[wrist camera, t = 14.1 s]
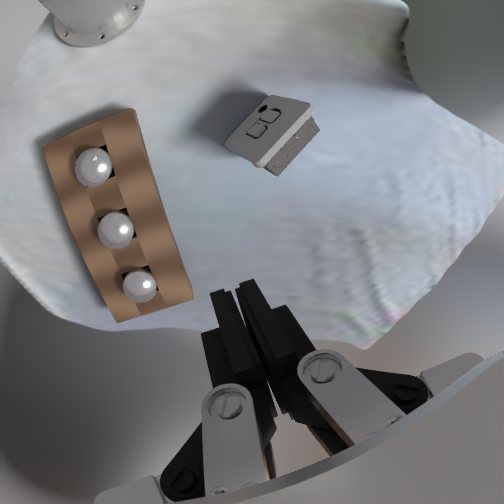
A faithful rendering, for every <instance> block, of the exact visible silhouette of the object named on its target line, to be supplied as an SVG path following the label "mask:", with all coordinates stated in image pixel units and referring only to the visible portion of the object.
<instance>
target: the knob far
mask: <svg viewBox="0 0 504 504" xmlns="http://www.w3.org/2000/svg"><path fill="white" fill-rule="evenodd" d="M123 291H124V293H125V295H126V296H127V297H128V298H129V299H130V300H132V301H134V302H139V303H142V302H147V301H149V300H150V299H152V298H153V297H154V295H155V293H156V279H155V277H154V275H153V274H152V272H151V270H150V268H149V265H147V266H144V267H141V268H137V269H133V270H131V271H129V272H126V273H125V277H124V283H123Z"/></svg>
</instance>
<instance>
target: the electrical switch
mask: <svg viewBox="0 0 504 504" xmlns="http://www.w3.org/2000/svg"><path fill="white" fill-rule="evenodd" d="M314 112H315V111H314V108H313V106H312V105H311V104H310V103H307V102H303V101H299V100H294V99H290V98H285V97H280V96H275V95H270V96H268V97H267V98H265V99H264V100H263V101H262V103H261V104H260V105H259V106H258V107H257V108H256V109H255V110H254V111H253V112H252V113H251V114H250V115H249V116H248V117H247V118H246V119H245V120H244V121H243V122H242V123H241V124H240V125H239V127H238V128H237V129H236V130H235V131H234V132H233V133H232V134H231V135H230V136H229V137H228V139H227V140H226V141H225V143H224V145H225V146H226V147H227V149H229V150H230V151H232V152H234V153H236V154H238V155H239V156H241V157H243V158H245V159H247V160H248V161H250V162H252V163H253V165H254V166H255V167H258V168H262V167H263V168H264V169H266V170H267V171H269V172H271V173H272V174H274V173H275V174H276V175H277V176H279V175H280V174H281V172H282V171H283V170H284V169H285V168H286V167H287V166H288V165H289V164H290V162H291V161H292V160H293V159H294V158H295V157H296V156H297V155H298V154H299V152H300V151H301V150H302V149H303V148H304V147H305V146H306V145H307V144H308V143H309V142H310V140H311V139H312V138H313V137H314V136H315V135H316V134H317V133H318V132H319V131H320V129H319V127H318V126H317V125H316V123H315V121H314V119H313V118H312V116H311V115H312V114H313V113H314ZM293 135H294V136H293ZM296 136H297V137H298V138H299V139H297V138H296ZM284 145H285V146H284ZM287 149H288V150H287ZM286 153H287V154H286ZM270 159H271V160H270ZM284 164H285V165H284ZM276 167H277V168H276ZM273 172H274V173H273ZM275 174H274V175H275ZM276 175H275V176H276Z"/></svg>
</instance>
